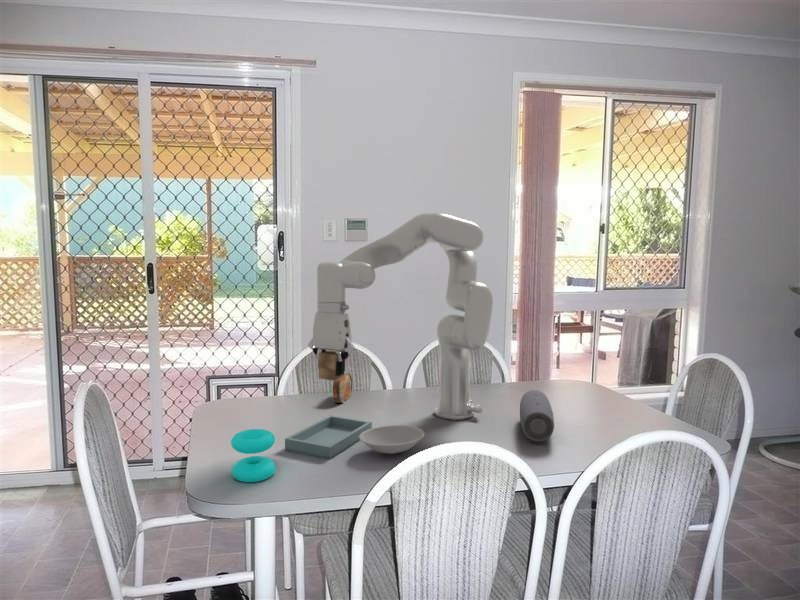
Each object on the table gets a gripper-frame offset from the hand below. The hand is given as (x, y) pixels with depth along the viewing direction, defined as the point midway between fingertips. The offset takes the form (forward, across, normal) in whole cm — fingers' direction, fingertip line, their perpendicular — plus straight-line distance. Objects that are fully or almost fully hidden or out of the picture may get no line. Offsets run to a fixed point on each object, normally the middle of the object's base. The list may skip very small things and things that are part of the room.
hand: (331, 373), depth 160 cm
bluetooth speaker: (+19, -49, -32) cm, 62 cm away
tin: (+19, +18, -34) cm, 43 cm away
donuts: (+19, +3, +29) cm, 35 cm away
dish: (+19, -20, +2) cm, 27 cm away
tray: (+19, -1, +2) cm, 19 cm away
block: (+1, 0, 0) cm, 1 cm away
